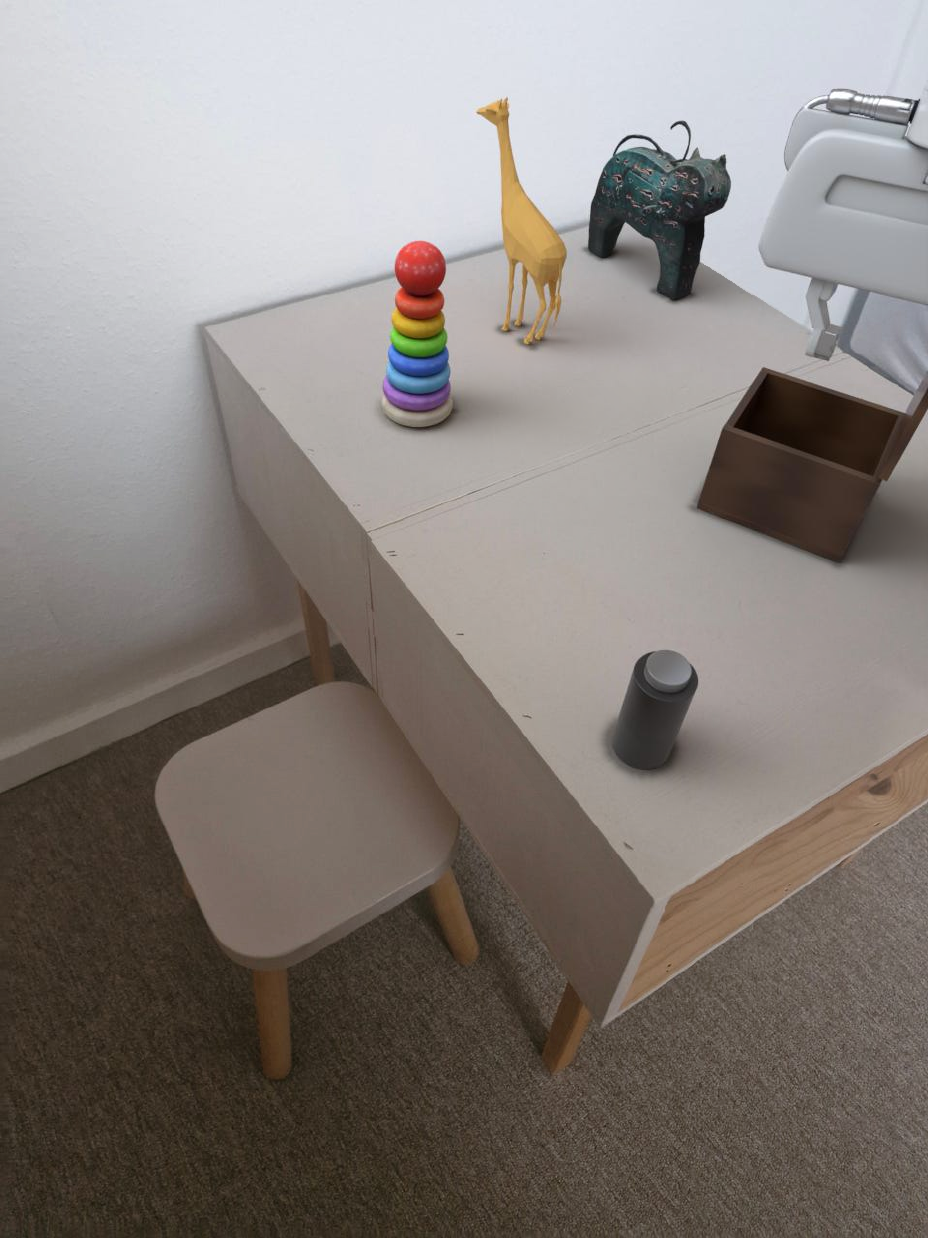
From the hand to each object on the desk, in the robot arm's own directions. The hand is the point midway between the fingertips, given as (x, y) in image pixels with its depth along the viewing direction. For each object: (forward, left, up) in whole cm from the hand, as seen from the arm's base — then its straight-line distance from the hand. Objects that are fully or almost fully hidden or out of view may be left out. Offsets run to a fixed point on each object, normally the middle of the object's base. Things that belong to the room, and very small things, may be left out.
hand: (896, 377), depth 51 cm
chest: (+4, -23, -29) cm, 37 cm away
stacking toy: (+44, -15, -29) cm, 55 cm away
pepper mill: (+5, +13, -29) cm, 32 cm away
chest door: (-3, -23, -11) cm, 26 cm away
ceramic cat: (+36, -60, -29) cm, 76 cm away
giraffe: (+44, -37, -29) cm, 65 cm away
